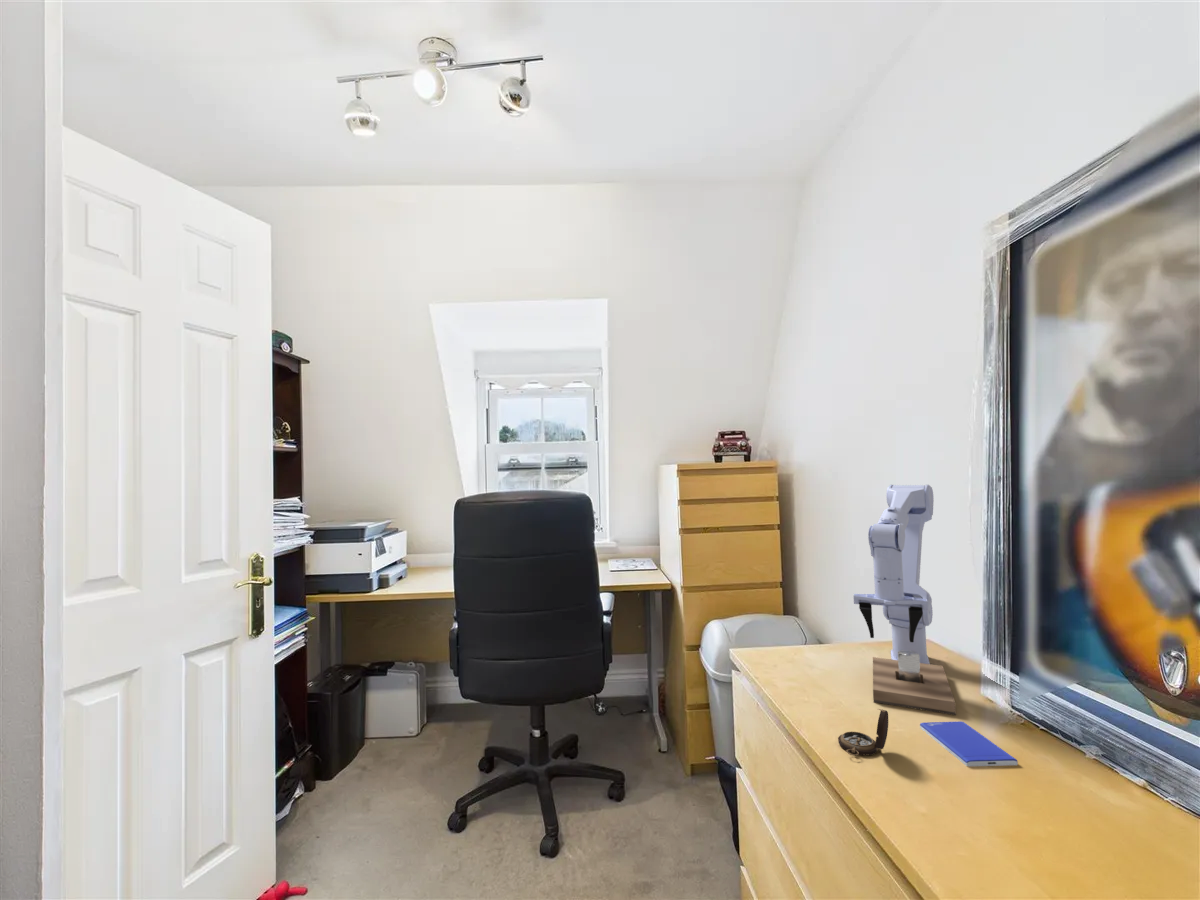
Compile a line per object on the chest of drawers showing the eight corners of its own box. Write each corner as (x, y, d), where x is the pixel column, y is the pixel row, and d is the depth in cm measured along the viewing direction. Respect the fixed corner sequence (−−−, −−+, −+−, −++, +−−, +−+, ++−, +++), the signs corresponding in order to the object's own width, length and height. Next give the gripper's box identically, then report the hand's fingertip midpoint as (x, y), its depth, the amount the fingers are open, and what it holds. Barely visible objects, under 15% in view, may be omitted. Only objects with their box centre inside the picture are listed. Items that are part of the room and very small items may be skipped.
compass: (842, 734, 95) (840, 693, 95) (891, 747, 90) (889, 704, 90) (831, 754, 88) (829, 710, 88) (883, 769, 83) (881, 723, 84)
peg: (898, 681, 115) (897, 649, 115) (920, 684, 113) (918, 651, 113) (899, 688, 111) (898, 655, 111) (921, 691, 109) (920, 658, 110)
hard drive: (919, 722, 96) (966, 760, 83) (964, 720, 96) (1017, 758, 83) (920, 731, 96) (967, 770, 83) (964, 729, 96) (1018, 768, 83)
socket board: (873, 667, 124) (872, 657, 124) (943, 676, 118) (942, 665, 118) (873, 702, 107) (873, 689, 107) (955, 715, 100) (955, 701, 100)
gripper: (852, 578, 117) (855, 640, 116) (928, 583, 110) (931, 648, 110) (853, 572, 123) (855, 631, 123) (925, 577, 116) (928, 638, 116)
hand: (891, 638), depth 117 cm, fingers open, 7 cm apart
